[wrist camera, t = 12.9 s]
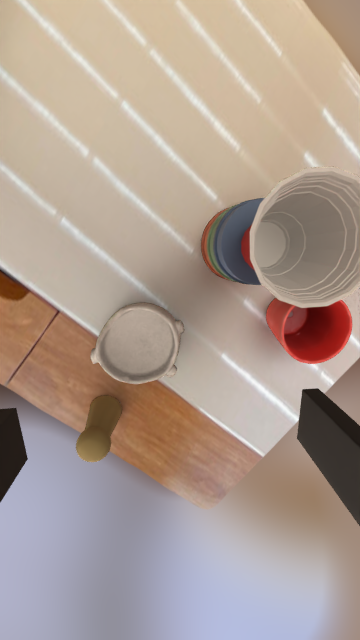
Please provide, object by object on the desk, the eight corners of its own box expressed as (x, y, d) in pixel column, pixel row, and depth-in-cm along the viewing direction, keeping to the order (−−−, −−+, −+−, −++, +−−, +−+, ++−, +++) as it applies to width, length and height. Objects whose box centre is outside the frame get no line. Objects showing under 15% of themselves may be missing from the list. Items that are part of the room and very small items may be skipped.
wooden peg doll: (103, 389, 49) (86, 428, 38) (128, 407, 50) (119, 449, 39) (83, 411, 50) (61, 455, 39) (109, 428, 51) (95, 475, 40)
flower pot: (310, 275, 46) (348, 282, 36) (319, 332, 48) (357, 352, 39) (252, 294, 46) (275, 305, 36) (264, 349, 49) (289, 373, 39)
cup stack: (201, 206, 41) (217, 190, 30) (272, 207, 42) (314, 191, 31) (200, 280, 44) (214, 291, 33) (266, 279, 45) (302, 289, 34)
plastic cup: (276, 174, 30) (348, 127, 18) (321, 251, 33) (409, 253, 21) (200, 235, 31) (223, 226, 19) (250, 304, 34) (296, 334, 22)
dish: (91, 358, 47) (83, 371, 42) (116, 287, 44) (111, 292, 39) (166, 383, 49) (166, 398, 44) (195, 317, 46) (199, 325, 41)
